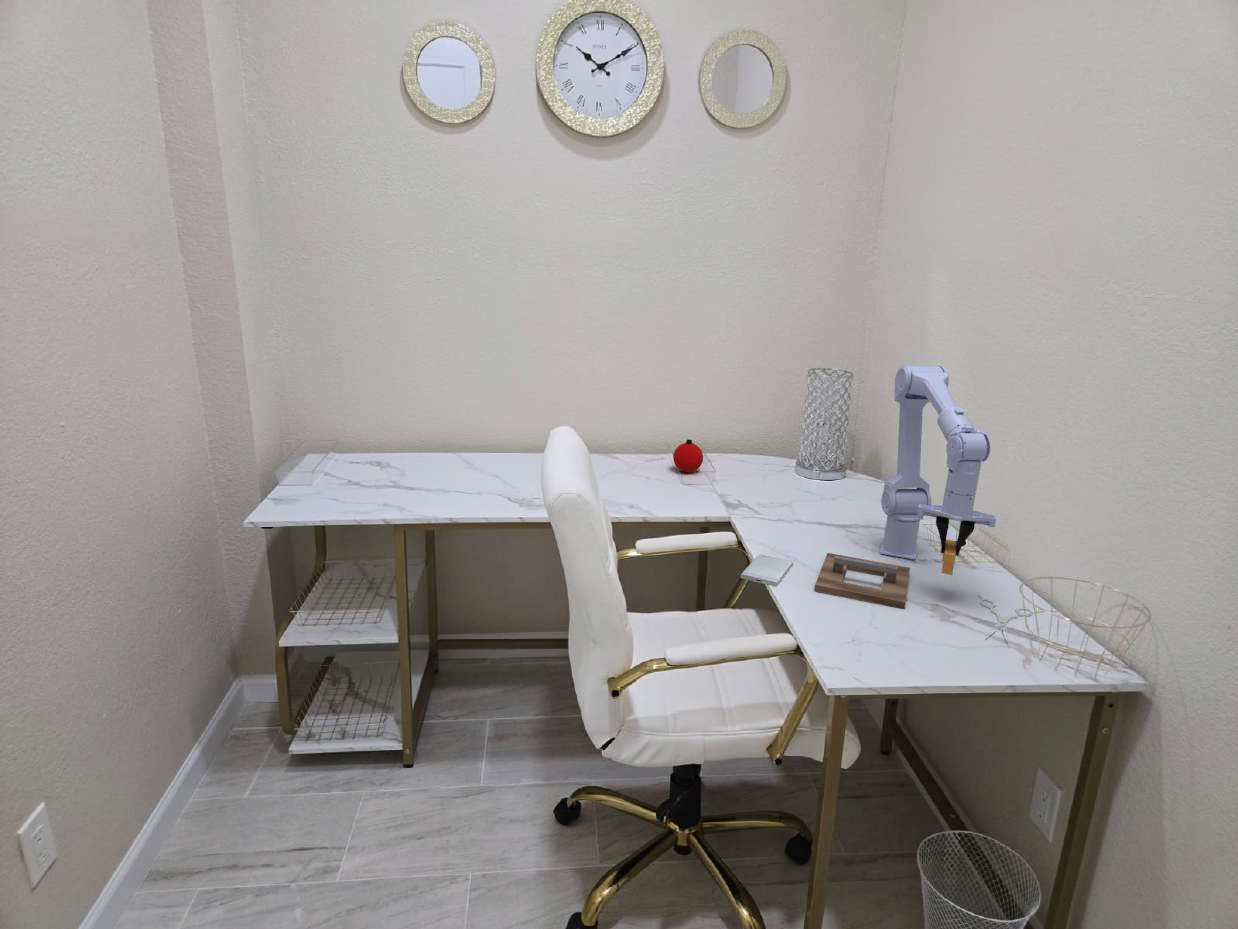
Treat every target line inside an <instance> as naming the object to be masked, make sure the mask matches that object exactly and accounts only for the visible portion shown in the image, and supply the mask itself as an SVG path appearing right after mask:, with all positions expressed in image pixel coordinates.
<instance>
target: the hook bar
mask: <svg viewBox="0 0 1238 929" xmlns="http://www.w3.org/2000/svg"><path fill="white" fill-rule="evenodd" d="M844 565H848V566H853V567H859V568H864V569H870V570H875V571H881V572H886V573H887V574H886V581H885V582H888V583H894V584H895V582H896V576H897V569H898V567H895V566H889V565H884V564H878V563H873V562H867V561H862V560H856V559H850V558H845V557H839V556H835V558H834V564H833V572H835V573H841V574H842V572H843V567H844Z"/></svg>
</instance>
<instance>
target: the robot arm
mask: <svg viewBox="0 0 1238 929" xmlns="http://www.w3.org/2000/svg"><path fill="white" fill-rule="evenodd" d="M894 377H895V378H894V391H893V392H894V401H895V402H897V403H899V414H898V415H899V416H898V417H899V420H898V438H897V439H898V440H897V442H898V443H897V465H896V474H895V475H894V476H892V477H890V478H889V479H888V480H886V481H885V482H884V485H883V490H882V495H881V499H880V500H881V501H880V502H881V503H880V504H881V509H882V511H883V513H884V514H885V515H886V524H885V529H884V531H885V532H884V536H883V538H882V540H881V545H880V549H879V554H881V555H886V556H891V557H898V558H902V559H908V560H913V561H914V560H916V559H917V553H918V552H917V551H918V543H917V542H918V533H919V528H920V522H921V520H923V519H924V516H925V517H933V518H935V524H936V525H935V526H936V528H937V531H938V535H939V540H940V546H941V547H940V553H941V554H943V553H945V547H946V540H947V536H948V531H949V524H950V521H956V522H959V530H958V535H957V540H956V556H957V557H958V556H959V555H960V551H961V549H962V547H963V546H964V544H965V542H966V541H967V540H968V538H969V536H970V535H971V534H972V533H973V531H975V527H976V526H975V524H976V525H982V526H988V527H989V528H992V529H993V528H995V527H996V521H997V516H996V514H995V515H993V514H987V513H983V512H980V511H976V510H974V505H975V499H976V495H977V488H978V482H979V477H980V474H981V473H980V472H981V467H982V463H983V462H985V461H987V460H988V458H989V457H990V453H991V441H990V438H989V436H988V434H987V433H986V432H983V431H980V430H978V429H976V428H975V426H974V425H973V423H972V420H970V418H969V416H968V414H967V413H966V411H965V410H964V409H963V408H962V407H959V406H956V405H955V403H954V402H955V401H954V399H953V398H952V395H951V393H950V390H949V383H950V380H949V377H950V376H949V373H948V371H947V369H946V367H944V366H942V365H937V366H925V365H924V366H922V365H921V366H916V365H913V366H912V365H902V366H900V368H899V369H898V371H897V373H896V374H895V376H894ZM928 403H930V404H931V405H932V408H933V409H935V411H936V413H937V414H938V416H937V419H936V423H937V426H938V428H939V429H940V431H941V432H942V434H943V436H944V438H945V440H946V447H945V448H946V455H947V456H946V457H947V458H946V466H947V468H948V470H947V476H946V482H945V489H944V495H943V499H942V500H943V501H942V505H937V504H936V505H935V504H932V497H931V492H930V484H929V482H927V481H926V480H925V479H923V478H922V477H921V476H920V474H921V452H922V433H923V431H922V428H923V410H924V407H926V405H927V404H928ZM956 556H955V557H956Z"/></svg>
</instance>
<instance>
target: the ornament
mask: <svg viewBox="0 0 1238 929" xmlns="http://www.w3.org/2000/svg"><path fill="white" fill-rule="evenodd" d="M672 459H673V463H674V465H675V467H676V468H677V469H678V470H679V471H681V472H684V473H693V472H695V471H697V470H698V469H699V468H700V467H701V466H702V465H703V462H704V454H703V451H702V449H701V447H699V445H697V444H695V443H694V442H693V440H692V439H690V438H689V439H686V440H685V442H683V443H681V444H679V445H678V446H677V447H676V448H675V450H674V451H673V458H672Z"/></svg>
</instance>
